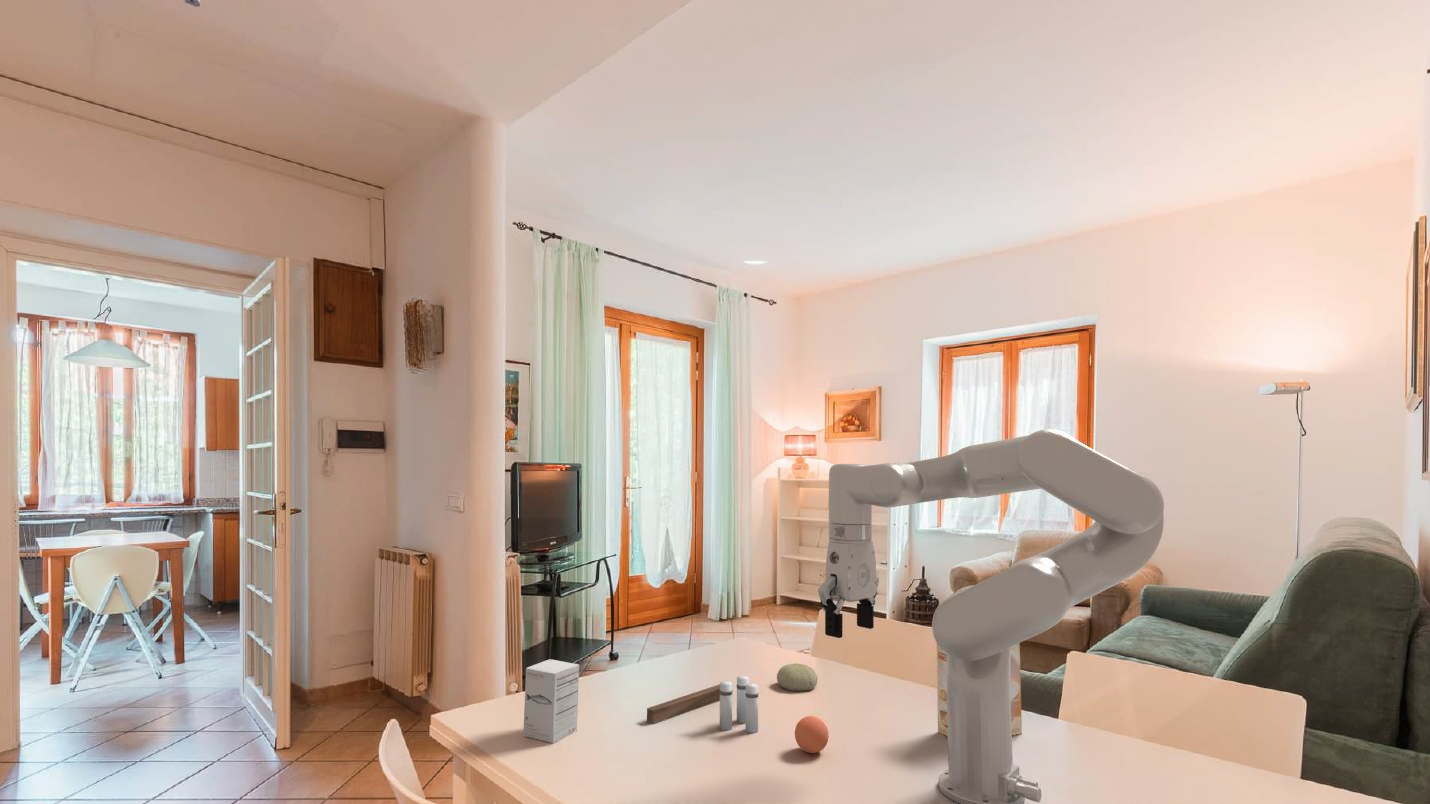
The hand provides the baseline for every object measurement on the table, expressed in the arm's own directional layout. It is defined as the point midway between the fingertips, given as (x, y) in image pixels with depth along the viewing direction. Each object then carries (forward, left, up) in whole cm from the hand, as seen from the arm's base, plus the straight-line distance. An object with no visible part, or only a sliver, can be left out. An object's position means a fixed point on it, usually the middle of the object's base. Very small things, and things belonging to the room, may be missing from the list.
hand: (849, 631), depth 121 cm
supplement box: (+47, +30, -22) cm, 60 cm away
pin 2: (+26, -1, -22) cm, 34 cm away
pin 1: (+26, +4, -22) cm, 34 cm away
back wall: (+38, +2, -22) cm, 44 cm away
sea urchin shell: (+31, -26, -22) cm, 46 cm away
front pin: (+21, +2, -22) cm, 30 cm away
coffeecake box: (-11, -28, -22) cm, 38 cm away
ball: (+7, +2, -19) cm, 20 cm away
